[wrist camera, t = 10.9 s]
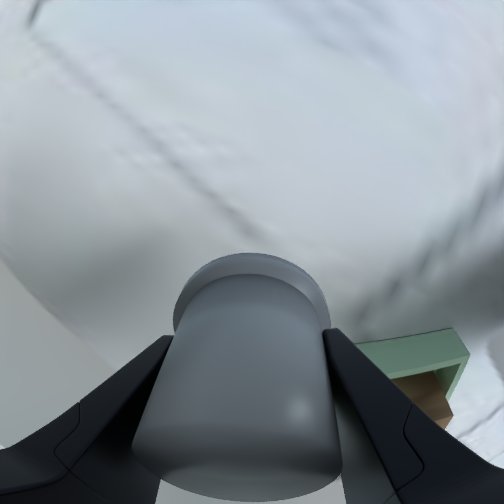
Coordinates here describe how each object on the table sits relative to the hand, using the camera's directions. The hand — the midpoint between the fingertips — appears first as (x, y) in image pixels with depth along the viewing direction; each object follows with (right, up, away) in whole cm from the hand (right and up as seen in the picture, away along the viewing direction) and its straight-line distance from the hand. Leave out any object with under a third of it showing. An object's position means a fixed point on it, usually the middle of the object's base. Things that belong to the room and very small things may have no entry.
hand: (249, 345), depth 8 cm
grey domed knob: (0, 0, +1) cm, 1 cm away
